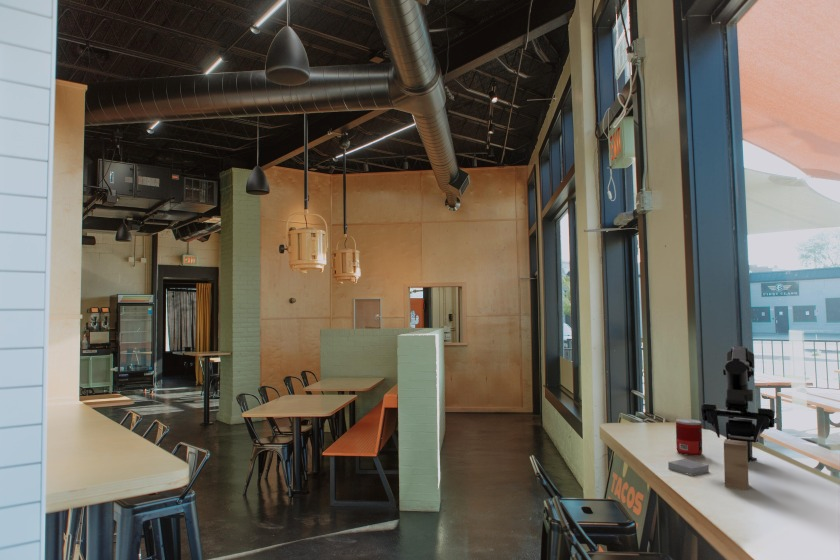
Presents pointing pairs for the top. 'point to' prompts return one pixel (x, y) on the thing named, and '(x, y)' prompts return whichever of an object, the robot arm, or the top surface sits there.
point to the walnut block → (736, 464)
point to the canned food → (689, 436)
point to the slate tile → (688, 466)
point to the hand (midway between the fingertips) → (736, 438)
